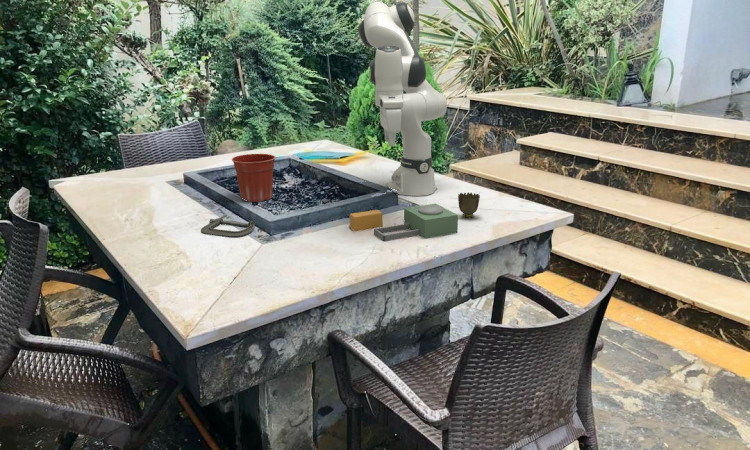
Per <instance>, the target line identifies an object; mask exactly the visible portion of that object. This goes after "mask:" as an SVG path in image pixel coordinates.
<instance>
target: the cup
mask: <svg viewBox="0 0 750 450" xmlns="http://www.w3.org/2000/svg"><path fill="white" fill-rule="evenodd" d="M457 201H458V208H459V211H460V212H461V213H462V217H463V218H465V219H471V218H473V217H474V214H475V213H476V212H477V211H478V208H479V203H480V194H479V193H476V192H474V193H472V192H469V191H468V192H467V193H466V192H464V193H463V192H460V193H458V195H457Z"/></svg>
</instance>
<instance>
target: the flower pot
mask: <svg viewBox="0 0 750 450" xmlns="http://www.w3.org/2000/svg"><path fill="white" fill-rule="evenodd" d="M276 158H277V157H276V156H275V155H274V154H269V153H248V154H240V155H236V156H234V157H232V158H231V160H232V162H233V167H234V171H235V173H236V178H237V185H238V190H239V195H240V199H241V198H243V199H245V200H247V201H249V203H257V202H258V203H260V202H264V201H265V200H266V201H269V200H271V199H272V198H273V188H274V187H273V185H274V184H273V183H274V168H275V160H276ZM245 200H244V201H245ZM247 201H246V202H247Z"/></svg>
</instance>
